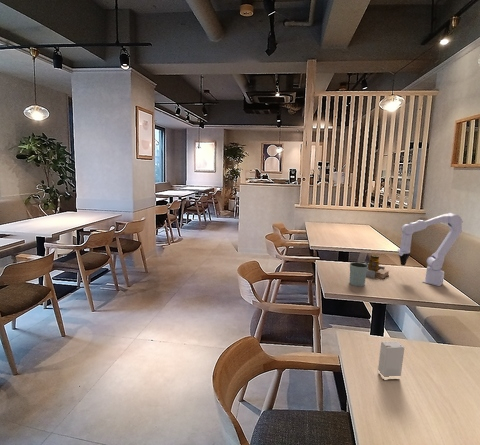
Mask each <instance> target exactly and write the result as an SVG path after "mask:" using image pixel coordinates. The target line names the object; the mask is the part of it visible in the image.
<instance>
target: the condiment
mask: <svg viewBox="0 0 480 445" xmlns="http://www.w3.org/2000/svg"><path fill="white" fill-rule="evenodd" d="M368 263H369V267H368V269H367V270H371V271H375V272H377V271H378V267H379V266H380V256H379V255H376V254H370V257H369V260H368Z"/></svg>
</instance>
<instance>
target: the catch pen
mask: <svg viewBox="0 0 480 445" xmlns="http://www.w3.org/2000/svg"><path fill="white" fill-rule="evenodd" d="M363 263H364V264H367V265H368V267H369V262H363ZM385 268H386V266H382V265H379V267H378V270H380V269H384V270H386V269H385ZM366 277H368V278H373V279H375V278H376V277H375V271H371V270H368V269H367V274H366Z"/></svg>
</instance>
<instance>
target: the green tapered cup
mask: <svg viewBox="0 0 480 445" xmlns="http://www.w3.org/2000/svg"><path fill="white" fill-rule="evenodd" d="M364 263H365V262H359V261H358V262H357V261H354V262H353V261H351V262H350V263H349V282H348V283H349V284H350V285H352V286H353V287H354V286H355V287H364V286H365V283H366V277H367V276H366V274H367V270H368V265H367V264H364Z"/></svg>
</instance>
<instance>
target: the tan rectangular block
mask: <svg viewBox="0 0 480 445" xmlns="http://www.w3.org/2000/svg"><path fill="white" fill-rule="evenodd" d="M389 273H390V270H387V269H380V270H378V271H377V272H375V278H378V279H380V280H383V279H385V278H386V277H388V276H389Z"/></svg>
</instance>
